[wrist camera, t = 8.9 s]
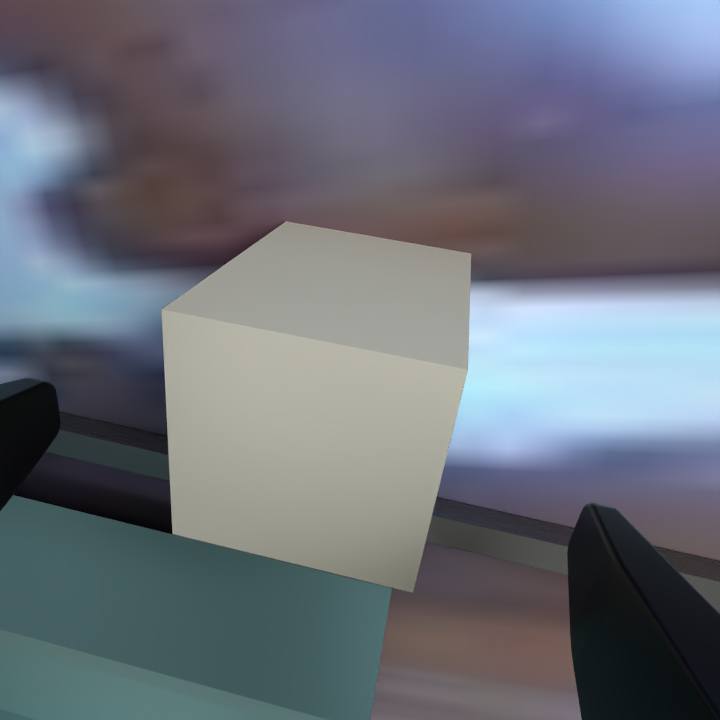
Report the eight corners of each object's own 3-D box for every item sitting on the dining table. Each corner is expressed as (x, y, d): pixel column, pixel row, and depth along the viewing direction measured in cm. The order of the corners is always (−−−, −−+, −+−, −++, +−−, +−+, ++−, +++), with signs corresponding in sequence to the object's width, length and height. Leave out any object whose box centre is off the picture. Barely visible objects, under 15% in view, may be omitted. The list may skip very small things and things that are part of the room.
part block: (435, 413, 15) (413, 593, 10) (276, 380, 15) (172, 534, 10) (471, 253, 13) (467, 369, 8) (286, 221, 13) (161, 309, 8)
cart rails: (607, 851, 22) (619, 917, 21) (-32, 668, 25) (-70, 710, 24) (804, 580, 15) (848, 646, 13) (-132, 368, 18) (-197, 399, 16)
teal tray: (353, 752, 22) (321, 927, 18) (-8, 651, 24) (-123, 786, 19) (397, 556, 17) (368, 730, 12) (-68, 444, 19) (-245, 561, 14)
